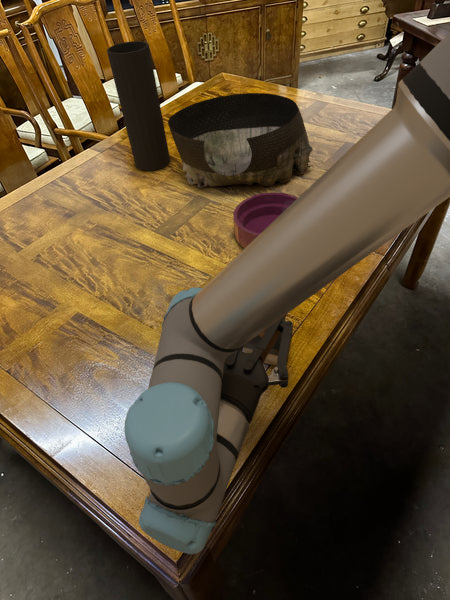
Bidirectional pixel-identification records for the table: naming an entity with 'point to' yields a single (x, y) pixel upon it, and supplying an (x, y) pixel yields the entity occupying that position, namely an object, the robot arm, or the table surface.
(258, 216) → the bowl
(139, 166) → the vase
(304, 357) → the table surface
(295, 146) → the basket
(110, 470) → the table surface
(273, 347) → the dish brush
